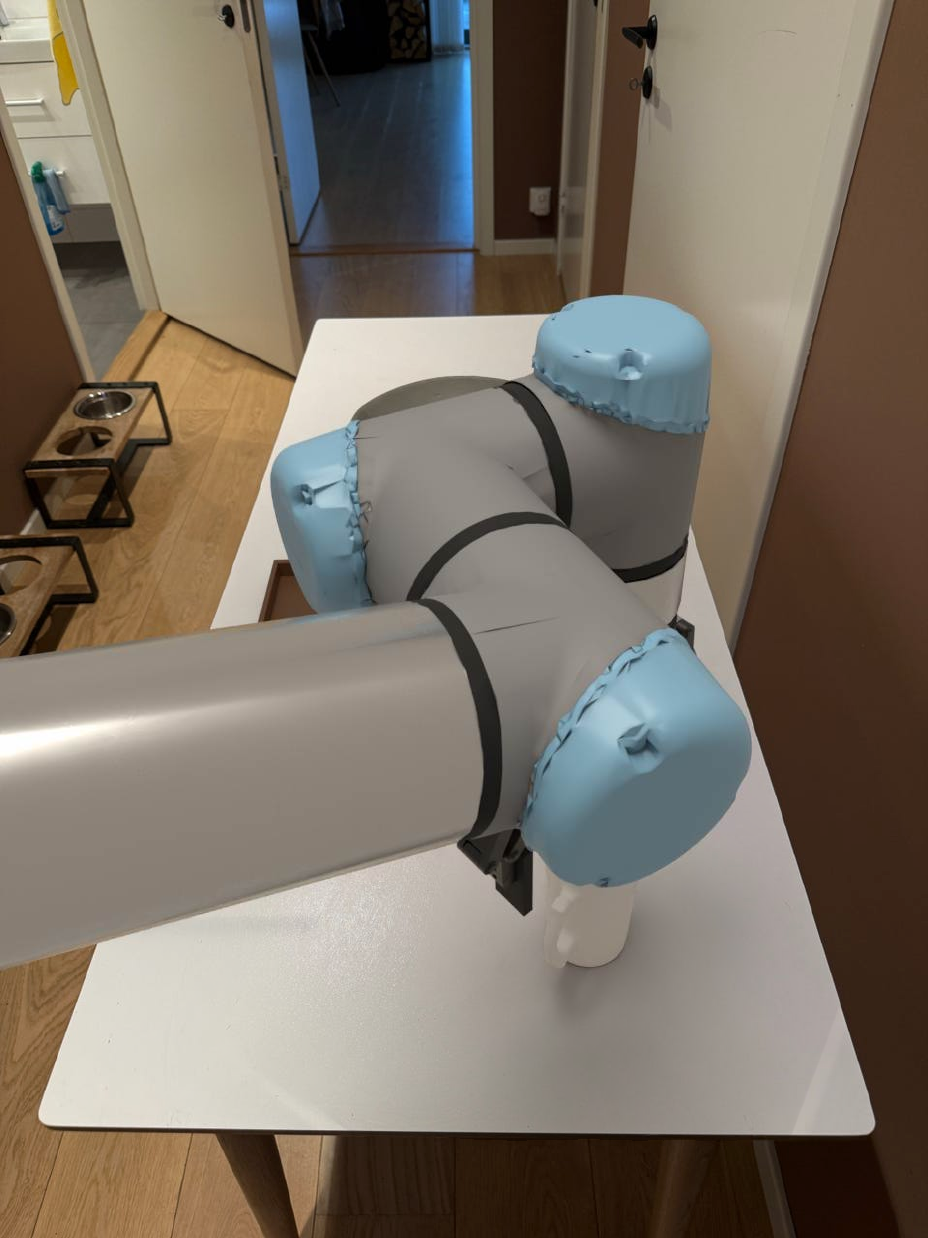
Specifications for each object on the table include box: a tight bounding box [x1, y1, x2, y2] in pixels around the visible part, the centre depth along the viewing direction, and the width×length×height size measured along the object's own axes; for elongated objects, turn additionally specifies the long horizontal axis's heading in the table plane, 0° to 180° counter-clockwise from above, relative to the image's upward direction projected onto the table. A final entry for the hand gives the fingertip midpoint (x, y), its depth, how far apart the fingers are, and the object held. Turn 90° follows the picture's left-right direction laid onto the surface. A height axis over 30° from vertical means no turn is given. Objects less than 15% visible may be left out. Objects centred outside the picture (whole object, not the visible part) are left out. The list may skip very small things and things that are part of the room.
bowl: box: [349, 375, 510, 422], centre depth 119 cm, size 27×28×8 cm
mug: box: [543, 864, 639, 969], centre depth 68 cm, size 10×7×12 cm, turn 146°
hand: (587, 840), depth 63 cm, fingers open, 13 cm apart
